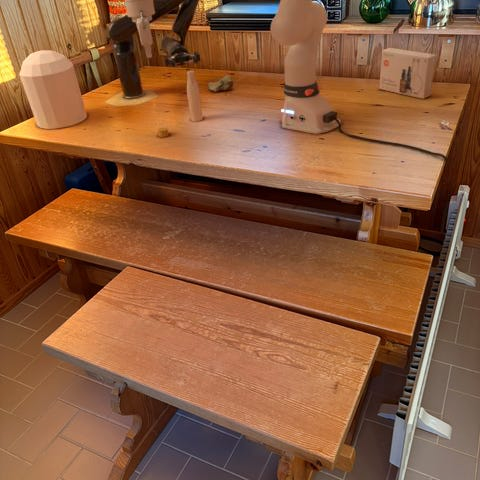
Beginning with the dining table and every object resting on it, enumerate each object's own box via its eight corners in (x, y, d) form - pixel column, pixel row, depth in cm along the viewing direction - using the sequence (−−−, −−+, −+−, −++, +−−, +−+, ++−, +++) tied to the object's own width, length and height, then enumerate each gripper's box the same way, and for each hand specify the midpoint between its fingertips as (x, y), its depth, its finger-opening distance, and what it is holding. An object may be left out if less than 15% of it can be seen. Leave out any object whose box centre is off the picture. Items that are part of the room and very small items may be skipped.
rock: (207, 90, 217) (212, 93, 208) (206, 76, 214) (210, 78, 205) (229, 87, 219) (235, 90, 210) (228, 73, 216) (233, 75, 207)
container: (71, 129, 186) (49, 56, 170) (26, 128, 191) (0, 58, 175) (96, 110, 202) (78, 43, 186) (54, 111, 207) (33, 45, 191)
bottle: (202, 116, 186) (195, 69, 176) (203, 120, 182) (197, 72, 172) (190, 118, 186) (183, 70, 175) (191, 122, 182) (184, 74, 171)
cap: (157, 137, 171) (156, 131, 170) (159, 133, 174) (158, 127, 173) (167, 136, 171) (166, 130, 170) (169, 132, 174) (168, 127, 173)
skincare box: (377, 89, 194) (381, 50, 185) (385, 86, 197) (389, 47, 188) (423, 99, 180) (429, 56, 171) (430, 95, 183) (437, 53, 174)
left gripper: (160, 47, 191) (165, 55, 178) (193, 42, 194) (201, 50, 181) (163, 65, 195) (168, 75, 182) (196, 60, 198) (203, 69, 185)
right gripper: (152, 12, 140) (160, 59, 148) (148, 4, 157) (156, 46, 165) (131, 15, 139) (140, 62, 147) (129, 6, 156) (138, 49, 164)
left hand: (185, 62), depth 181 cm, fingers open, 8 cm apart
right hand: (148, 54), depth 156 cm, fingers open, 8 cm apart
